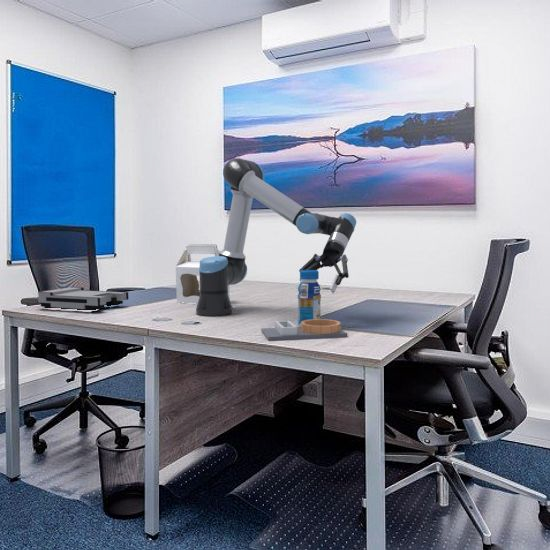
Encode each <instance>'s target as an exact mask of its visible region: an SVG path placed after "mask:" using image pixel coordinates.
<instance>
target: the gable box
mask: <svg viewBox="0 0 550 550" xmlns="http://www.w3.org/2000/svg"><path fill="white" fill-rule="evenodd" d="M185 248H186V250H183V253H182V255H181V257H180V259H179V260H178V262H177V264H176V266H175V283H176V284H175V289H176V303H177V302H184V303H183V304H185V303H196V304H195V305H197V304H198V300H199V297H200V281H199V280H198V277H197V276H200V273H199V267H200V261H192V257H191V255H193V254H195V255H197V254H199V255H214V256H219V252H220V251H221V250H218V245H217V244H216V243H213V244H211V243H210V244H209V243H189V244H187V246H185ZM228 296H229V299H230V298H231V297H230V285H228ZM230 300H231V299H230Z"/></svg>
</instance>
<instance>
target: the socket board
mask: <svg viewBox="0 0 550 550" xmlns="http://www.w3.org/2000/svg"><path fill="white" fill-rule="evenodd" d="M341 327H342V322H341V321H339V320H335V319H328V318H327V319H326V318H325V319H324V318H320V319H310V320H304V321H302V322H301V326H297V325H295V324H294V323H293V322H291V320H275V321H274V327H263V328H262V327H261V328H260V330H261V331H260V332H261V334H262V335H263V334H264V335H263V336H264V337H265V338H266V339H267V341H268V342H269V341H270V342H271V341H290V340H309V339H311V340H312V339H333V338H348V332H346V331H344V330H343V329H342V328H341Z"/></svg>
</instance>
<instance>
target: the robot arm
mask: <svg viewBox="0 0 550 550" xmlns="http://www.w3.org/2000/svg"><path fill="white" fill-rule="evenodd" d="M222 174H223V178H224V181H225V182H226V183H227V184H228V185H229V186H230V189H229V190H230V192H231V194H232V199H231V205H230V210H229V215H228V223H227V226H226V227H227V229H226V234H225V238H224V239H225V240H224V245H223V249H222V250H219V251H220V252H219V256H215V255H214V256H207V257H203V258H202V259H200V261H199V262H200V267H199V273H200V275H199V292H200V297H199V300H198V304H196V308H195V313H196V314H195V315H197V316H204V317H205V316H206V317H219V315H221V316H228V315H231V314H233V312H234V311H233V305H232V302H231V299H229V296H228V285H229V286H232V285H236V284H238V283H239V284H240V283H241V282H242V281H243V280H245V278H246V276H247V274H248V266H247V264H246V255H245V254H244V249H245V243H246V238H247V237H246V236H247V233H248V232H247V231H248V227H249V221H250V215H251V210H252V204H253V200H254V199H255V200H257V201H258V202H260V203H261V204H263V205H264V206H265V207H267V208H269V209H270V210H271V211H273V212H274V213H276V214H277V215H279V216H280V217H282V218H283V219H285V220H286V221H288V222H289V223H290V224H292V225H293V226H295V227H296V229H297V231H299V232H300V233H302V234H305V235H313V234H316V235H317V234H321V235H326V236H329V237H328V239H327V241H326V243H325V245H324V248H323V251H322V254H320V255H319V254H317V253H314V254H313V256H312V258H310V259H309V260H308V261H307V262H306V263H305V264H304V265H303V266H302V267H301V268H299V270H298V271H299V273H300V271H301V270H318V271H319V269H322V268H324V267H325V268H327V267H328V268H329V267H330V268H332V267H334V268H335V270H336V272H337V274H335V276H334V277H333V281H332V282H331V285H330V287H329V290H330V292H331V293H332V294H335V293H336V291H337V288H338V286H340V285H341V283H342V281H343V279H344V278H346V279H348V278H349V270H348V261H349V259H348V257H347V255H346V254H344V253H345V250H346V248H347V246H348V245H349V244H348V243H349V241H350V240H351V237H352V235H353V233H354V231H355V228H356V225H357V219H356V218H355V216H354V215H352V214H351V213H347V212H346V213H345V212H344V213H341V214H340V215H339V216H338V217H335V216H329V215H324V214H321V213H317V212H316V213H315V212H310V211H309V210H308V209H307V208H305V207H303V206H302V205H301V204H299V203H297V202H296V201H295V200H293V199H291V198H290V197H289V196H287V195H285V194H284V193H282V191H281V192H280V191H279V190H277V189H276V188H275V187H273V186H272V185H270V184H269V183H267V182H266V181H265V173H264V170H263V168H262V167H261V165H260V164H258V163H257V162H255V161H252V160H246V159H244V158H239V157H238V158H237V157H236V158H234V157H233V158H232V159H231V158H230V160H228V161H227V162H226V163H225V164H224V166H223V170H222ZM340 261H341V266H342V271H341V269H340V267H339V265H338V263H340ZM301 281H302V280H300V279H299V282H298V285H297V288H298V287H299V285H300V283H301Z"/></svg>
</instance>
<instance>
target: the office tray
mask: <svg viewBox="0 0 550 550" xmlns="http://www.w3.org/2000/svg"><path fill="white" fill-rule="evenodd" d="M37 294H38V295H37V297H38V301H37V302H38V303H40V307H42V308H43V309H44V308H61V309H77V310H96V309H99V310H100V309H105V308H104V305H107V306H111V305H118V306H119V305H122V304H123V303H124V301H127V300H129V292H128V291H113V290H111V291H108V290H89V289H88V290H87V289H85V288H84V287H83V286H82V287H79V286H78V287H77V286H71V287H64V288H57V289H51V290H43V291H38V292H37Z"/></svg>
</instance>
